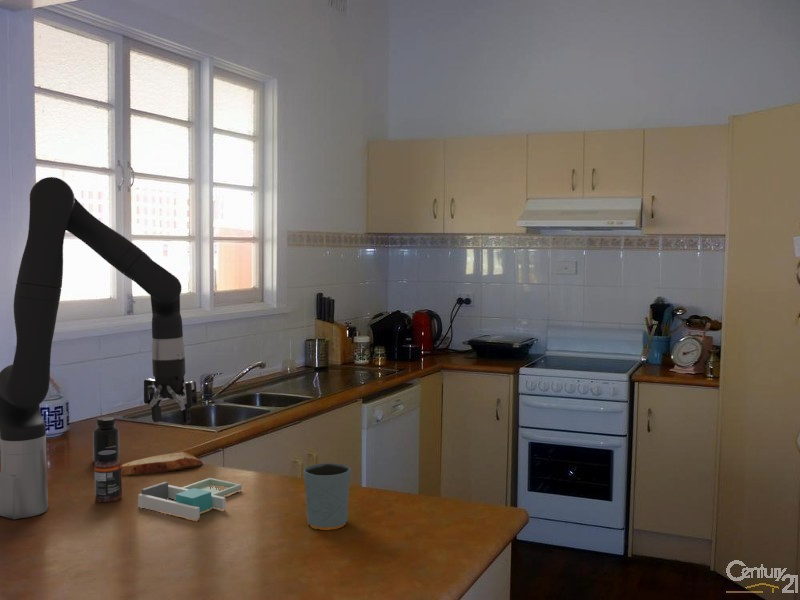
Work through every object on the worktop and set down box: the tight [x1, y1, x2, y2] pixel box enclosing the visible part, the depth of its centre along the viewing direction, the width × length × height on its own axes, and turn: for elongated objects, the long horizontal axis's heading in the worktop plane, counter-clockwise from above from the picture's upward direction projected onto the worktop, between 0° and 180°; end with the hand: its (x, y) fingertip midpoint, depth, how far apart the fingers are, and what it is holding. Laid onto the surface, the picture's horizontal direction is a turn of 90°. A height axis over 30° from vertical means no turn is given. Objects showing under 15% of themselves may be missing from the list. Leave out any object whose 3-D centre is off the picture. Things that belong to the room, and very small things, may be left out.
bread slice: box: [121, 451, 203, 476], centre depth 213 cm, size 18×18×4 cm
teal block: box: [175, 488, 211, 512], centre depth 177 cm, size 6×6×4 cm
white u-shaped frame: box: [137, 481, 227, 519], centre depth 179 cm, size 9×18×4 cm, turn 58°
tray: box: [181, 477, 243, 497], centre depth 190 cm, size 11×11×2 cm
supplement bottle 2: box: [93, 450, 123, 503], centre depth 186 cm, size 6×6×11 cm
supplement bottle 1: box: [92, 416, 120, 463], centre depth 220 cm, size 7×7×12 cm
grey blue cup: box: [303, 462, 352, 528], centre depth 170 cm, size 10×10×12 cm
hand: (171, 423), depth 190 cm, fingers open, 8 cm apart
